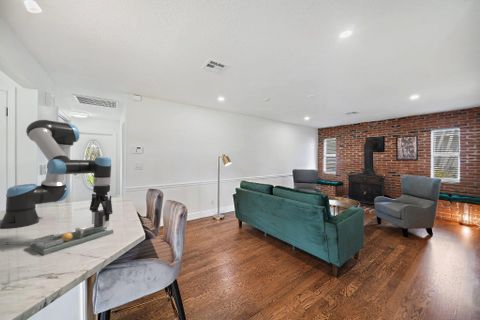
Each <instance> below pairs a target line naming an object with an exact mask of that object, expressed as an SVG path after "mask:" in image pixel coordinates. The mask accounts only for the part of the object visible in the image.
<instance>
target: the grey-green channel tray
mask: <svg viewBox="0 0 480 320" xmlns="http://www.w3.org/2000/svg"><path fill="white" fill-rule="evenodd" d="M70 233H71V234H72V235H73V237H72V239H71V240H69V241H66V242H65V241H63V244H62V245H58V246H55V247H52V248H48V249H45V250H43V251H42V250H40V249H38V248H36V247H35V241H34V242H30V243H29V246H28V247H29V249H31V250H33V251H34V252H37V253H39V254H41V255H42V256H47V255H49V254H52V253H55V252H56V253H57V252H58V251H59V252H60V251H62V250H65V249H68V248H72V247H74V246H78V245H81V244H83V243H87V242H91V241H93V240H96V239H100V238H103V237H106V236H109V235H112V234H114V229H104V230H101V231H97V232H94V233H90V234H87V235H83V238H78V237H76V236H75V231H70ZM62 235H63V234H60V235H56V236H54V239H53V241H55V240H58V239H61V238H62Z"/></svg>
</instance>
